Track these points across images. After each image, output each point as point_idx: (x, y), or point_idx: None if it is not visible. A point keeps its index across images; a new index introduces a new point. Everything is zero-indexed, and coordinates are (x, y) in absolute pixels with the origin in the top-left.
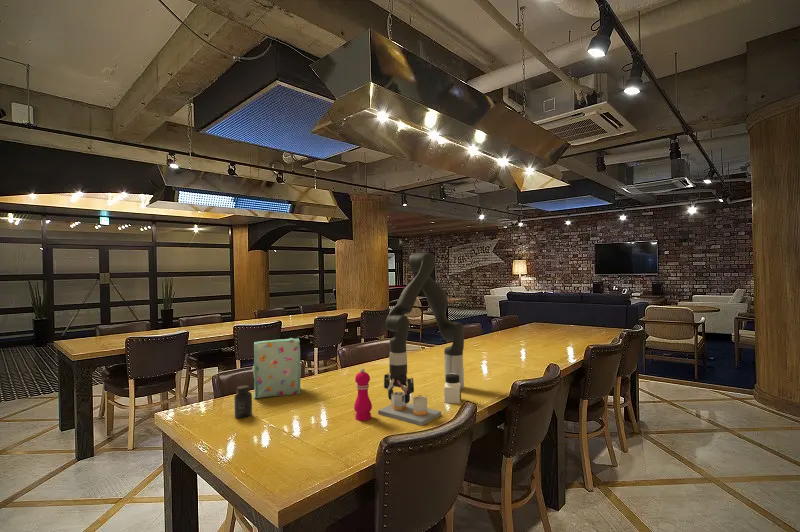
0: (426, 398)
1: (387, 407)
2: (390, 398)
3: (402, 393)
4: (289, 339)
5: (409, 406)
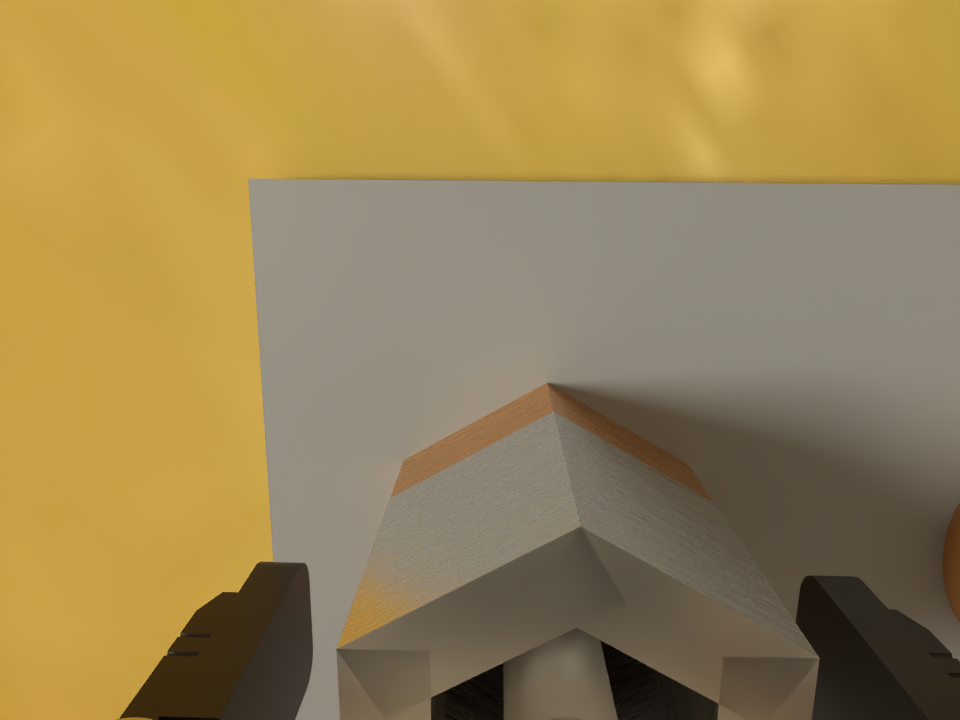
0: None
1: (325, 625)
2: (304, 681)
3: (639, 654)
4: None
5: (673, 335)
